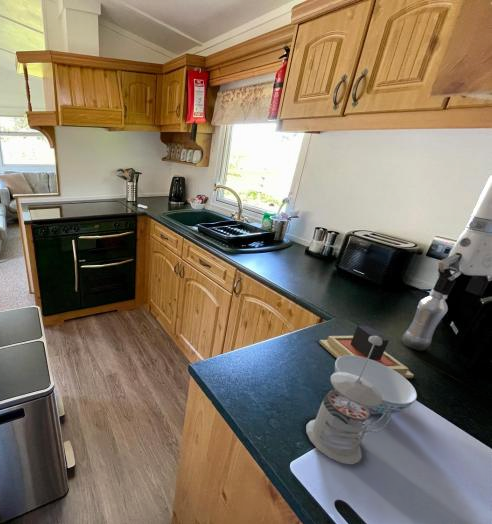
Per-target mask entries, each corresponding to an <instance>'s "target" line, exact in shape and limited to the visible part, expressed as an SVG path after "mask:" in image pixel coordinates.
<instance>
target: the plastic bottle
mask: <svg viewBox="0 0 492 524" xmlns="http://www.w3.org/2000/svg"><path fill="white" fill-rule="evenodd" d="M433 289H434V287H433V288H432V289H430V290H431V291H429V295H428V296H426V297H424V298H422V299H420V301H418V303H417V308H416V311H415V315H414V318H413V320H412V322H411V323H410V325H409V327H408V328H407V330H406V331H405V332H404V333H403V335H402V339H401V340H402V343H403V344H404V345H405V346H406V347H408V348H411V349H413V350H415V351H421V352H422V351H425V350H427V349H429V348H430V347H431V344H432V340H433V339H432V338H433V337H434V334H435V331H436V328H437V326H438V325H439V323H440V322H441V321H442V319H443V318H444V317H445V315H446V314H447V312H448V310H449V308H448V304H447V302H446V300H447V299H448V296H449V295H443V294H441V293H439V292H436V291H434V290H433Z"/></svg>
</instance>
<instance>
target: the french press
mask: <svg viewBox="0 0 492 524" xmlns="http://www.w3.org/2000/svg"><path fill="white" fill-rule="evenodd" d="M368 340H369V342H370V343H372V344H373V346H372V349H371V351H370V353H369V356H368V358H367V360H366V363H365V365H364V367H363V370H362V372H361V374H360V377H359V376H356V375H353V374H350V373H346V372H337V373H335V372H333V373H332V374H331V375H330V383H331V386H332V387H333V388H334V389H332V390H329V391H328V392H327V393H326V395H325V396H324V397H323V399H322V402H321V404H320V407H319V410H318V412H317V415H316V417H315V419H312V420H309V422H308V423H307V424H306V426H305V427H306V428H305V429H306V431H305V433H306V434H307V436H308V438H309V441H310V442H311V444H313V446H314V447H315V448H316V449H317V450H318V451H319V452H321V453H322V454H323V455H325V456H326V457H327V458H329V459H331V460H334V461H336V462H338V463H340V464H344V465H345V464H346V465H354V464H357V463H360V461H361V459H362V457H363V453H362V448H361V446H360V444H361V442H362V440H363V438H364V436H365V434H368V433H377V432H380V431H382V430H384V429H385V428H386V427H387V426H388V425H389V424H390V421H391V420H392V413H390V411H389V409H388V408H387V407H386V405H385V403H384V401H383V400H382V396H381V393H380V392H379V391H378V390H377V389H376V388H375V387H374V386H373V385H372V384H370V383H369V382H367V381H366V380H365V379H363V378H362V377H361V376H362V373H363V371H364V369H365V366H366V364H367V362H368V359H369V357H370V355H371V352H372V350H373V348H374V345H378V346H380V345H382V339H381V338H380V337H378V336H370V337H369V339H368ZM381 401H382V403H383V404H382V403H381ZM379 404H381V405H383V406H384V407H385V411H384V413H382V416H381V417H380V418H379V419H378V420H376V421H374V422H371V420H370V418H371V417H372V414H371V412H370V409H369V408H368V407H367V406H370V407H372V406H375V407H377V406H378V405H379ZM386 409H387V410H388V413H389V414H388V419H387V421H386V423H385V424H384V425H383V426H381V427H380V428H377V429H374V430H368V428H369V426H371V425H376V424H377V423H379V422H380V421H382V420H383V419H384V418H385V416H386V414H385V413H386ZM334 410H335V411H334ZM339 417H340V418H339ZM341 418H342V419H343V420H344V421H343V420H342V419H341ZM365 421H366V422H365ZM364 422H365V423H364ZM357 438H358V439H357Z"/></svg>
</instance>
